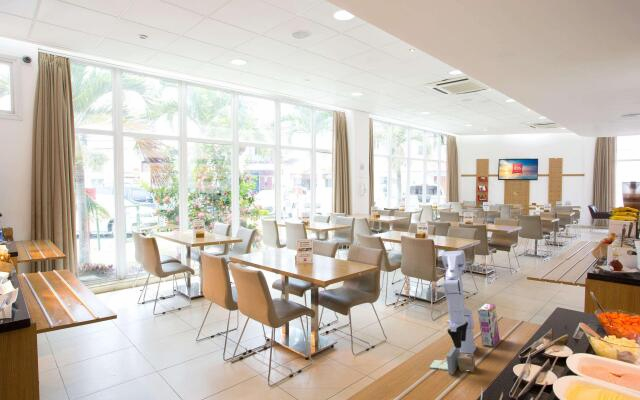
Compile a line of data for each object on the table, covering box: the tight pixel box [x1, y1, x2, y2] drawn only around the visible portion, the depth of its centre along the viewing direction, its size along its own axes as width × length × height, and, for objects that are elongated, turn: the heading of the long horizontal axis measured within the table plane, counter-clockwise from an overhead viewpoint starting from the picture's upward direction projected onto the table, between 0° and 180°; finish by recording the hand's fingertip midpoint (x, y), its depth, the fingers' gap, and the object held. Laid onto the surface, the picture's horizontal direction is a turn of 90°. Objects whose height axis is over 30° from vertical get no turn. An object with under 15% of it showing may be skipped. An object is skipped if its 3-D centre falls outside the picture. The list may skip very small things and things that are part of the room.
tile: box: [429, 359, 448, 371], centre depth 154 cm, size 8×8×1 cm
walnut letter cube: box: [458, 353, 476, 373], centre depth 148 cm, size 5×5×5 cm
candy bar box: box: [477, 303, 500, 347], centre depth 172 cm, size 11×5×16 cm, turn 141°
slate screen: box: [446, 345, 461, 376], centre depth 151 cm, size 14×2×7 cm, turn 147°
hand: (460, 344), depth 149 cm, fingers open, 7 cm apart
